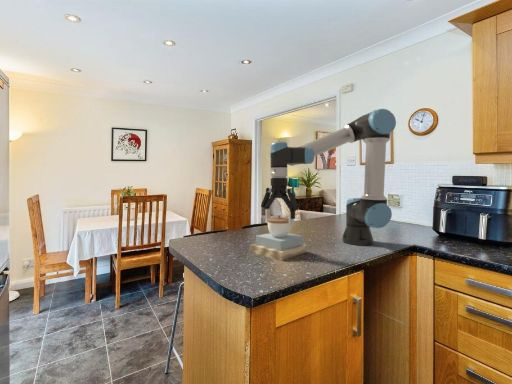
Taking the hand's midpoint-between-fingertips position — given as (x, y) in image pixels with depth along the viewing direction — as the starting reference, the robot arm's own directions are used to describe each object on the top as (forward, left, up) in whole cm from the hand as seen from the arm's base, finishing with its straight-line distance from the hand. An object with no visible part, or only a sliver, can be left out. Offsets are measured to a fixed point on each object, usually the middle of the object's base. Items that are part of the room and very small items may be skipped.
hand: (279, 224), depth 124 cm
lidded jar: (0, 0, -5) cm, 6 cm away
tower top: (0, 0, -9) cm, 9 cm away
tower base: (0, 0, -13) cm, 13 cm away
